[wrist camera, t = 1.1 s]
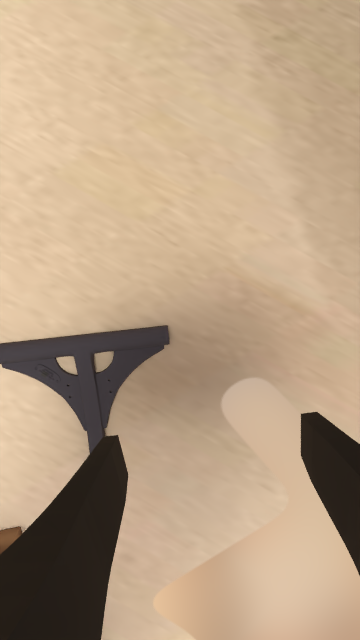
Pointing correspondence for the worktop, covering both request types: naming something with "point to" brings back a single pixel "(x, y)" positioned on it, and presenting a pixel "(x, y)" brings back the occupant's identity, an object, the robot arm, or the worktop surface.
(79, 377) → the bracket
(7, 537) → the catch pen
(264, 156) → the worktop surface
